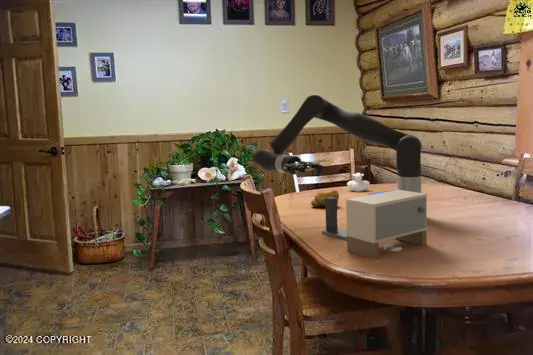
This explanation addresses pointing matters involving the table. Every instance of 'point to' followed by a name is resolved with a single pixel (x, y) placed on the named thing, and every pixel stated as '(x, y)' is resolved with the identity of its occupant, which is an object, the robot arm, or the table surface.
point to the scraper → (333, 220)
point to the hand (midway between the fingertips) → (313, 168)
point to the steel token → (392, 247)
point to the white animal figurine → (358, 183)
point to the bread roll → (323, 198)
